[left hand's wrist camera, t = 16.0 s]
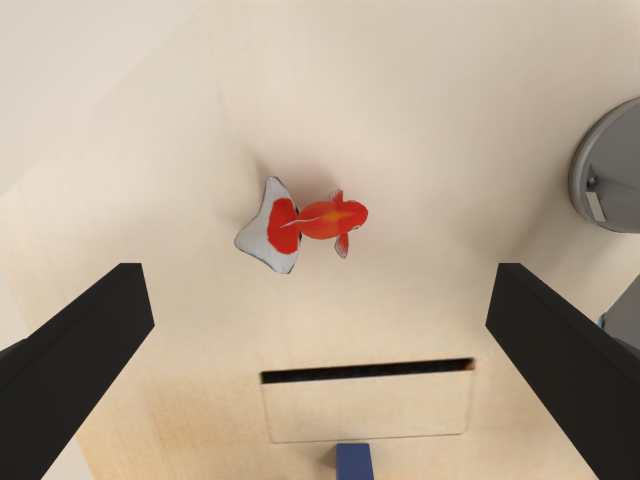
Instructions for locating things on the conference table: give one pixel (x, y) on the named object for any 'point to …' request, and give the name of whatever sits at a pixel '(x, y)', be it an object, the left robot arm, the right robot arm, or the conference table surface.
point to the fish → (296, 226)
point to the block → (354, 462)
